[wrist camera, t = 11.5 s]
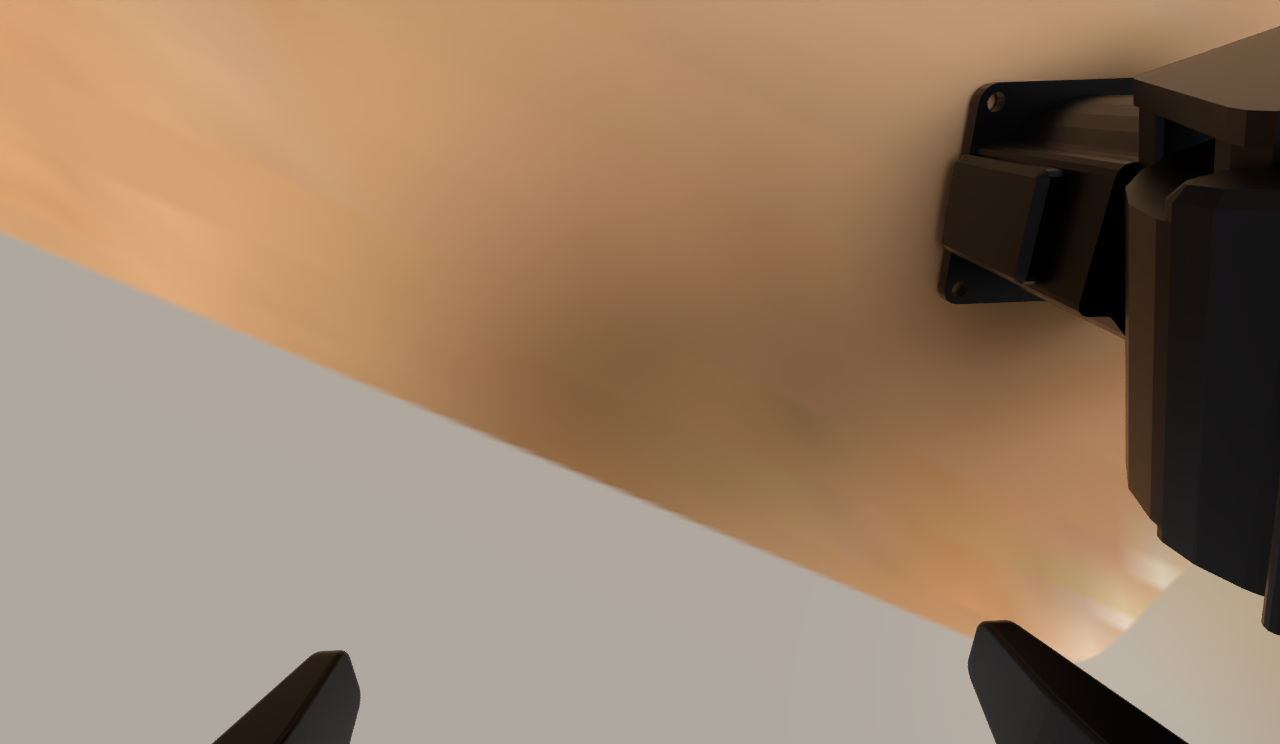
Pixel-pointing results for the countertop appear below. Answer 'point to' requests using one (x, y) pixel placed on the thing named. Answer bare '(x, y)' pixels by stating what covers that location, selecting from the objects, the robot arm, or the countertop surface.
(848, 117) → the countertop surface
